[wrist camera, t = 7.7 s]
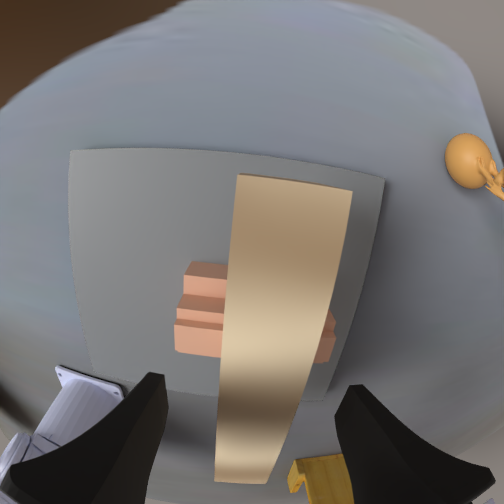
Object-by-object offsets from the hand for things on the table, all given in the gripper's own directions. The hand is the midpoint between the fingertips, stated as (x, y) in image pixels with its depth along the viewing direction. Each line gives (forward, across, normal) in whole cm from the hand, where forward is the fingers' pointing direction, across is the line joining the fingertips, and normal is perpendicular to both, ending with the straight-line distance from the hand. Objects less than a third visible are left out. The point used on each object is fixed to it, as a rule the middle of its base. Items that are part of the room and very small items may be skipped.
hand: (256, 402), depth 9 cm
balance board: (+9, +3, 0) cm, 10 cm away
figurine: (+9, -14, -11) cm, 20 cm away
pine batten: (+4, 0, 0) cm, 4 cm away
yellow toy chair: (+10, -13, +25) cm, 30 cm away
